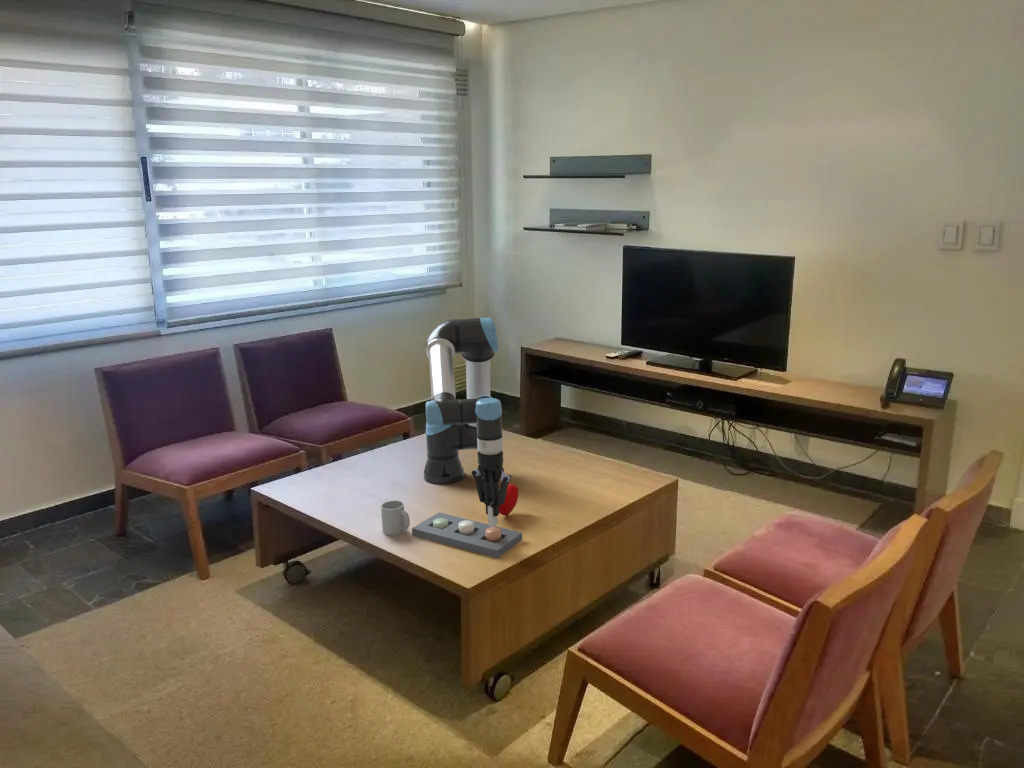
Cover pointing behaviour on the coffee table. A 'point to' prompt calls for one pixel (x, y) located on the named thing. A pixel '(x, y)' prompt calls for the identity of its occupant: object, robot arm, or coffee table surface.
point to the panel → (470, 543)
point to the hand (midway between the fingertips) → (492, 525)
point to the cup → (394, 518)
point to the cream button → (466, 527)
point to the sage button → (440, 523)
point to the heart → (509, 500)
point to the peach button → (493, 534)
